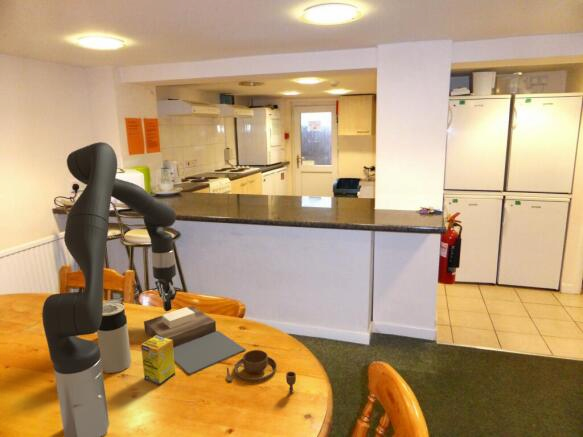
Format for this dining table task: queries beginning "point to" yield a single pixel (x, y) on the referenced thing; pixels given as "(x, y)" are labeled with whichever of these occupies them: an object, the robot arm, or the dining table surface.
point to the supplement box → (158, 359)
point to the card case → (178, 317)
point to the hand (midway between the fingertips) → (167, 310)
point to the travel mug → (114, 339)
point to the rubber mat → (205, 352)
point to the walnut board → (181, 328)
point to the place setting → (259, 368)
